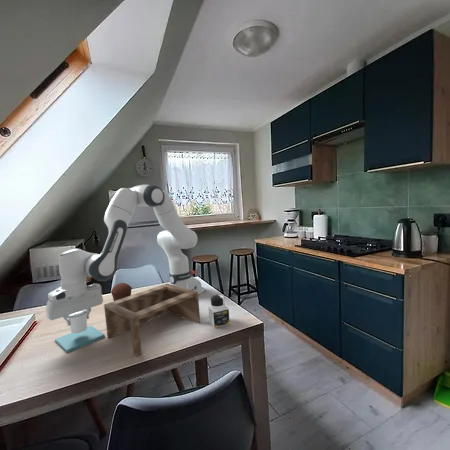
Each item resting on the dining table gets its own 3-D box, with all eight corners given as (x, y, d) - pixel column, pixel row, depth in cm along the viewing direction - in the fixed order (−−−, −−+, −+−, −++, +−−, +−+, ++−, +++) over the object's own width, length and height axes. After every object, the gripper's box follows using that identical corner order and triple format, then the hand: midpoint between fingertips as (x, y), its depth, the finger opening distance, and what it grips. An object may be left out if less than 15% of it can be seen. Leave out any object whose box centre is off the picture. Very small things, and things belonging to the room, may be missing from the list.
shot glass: (74, 335, 99) (72, 318, 99) (66, 331, 103) (64, 315, 103) (91, 328, 105) (90, 312, 104) (83, 324, 109) (82, 309, 108)
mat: (91, 327, 114) (90, 325, 114) (104, 336, 105) (104, 334, 105) (55, 341, 104) (55, 339, 104) (66, 352, 95) (66, 350, 95)
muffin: (112, 299, 150) (110, 282, 149) (132, 295, 154) (130, 279, 153) (111, 306, 139) (110, 288, 138) (133, 302, 143) (131, 284, 142)
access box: (168, 310, 128) (166, 283, 127) (200, 322, 113) (197, 291, 111) (107, 337, 105) (104, 304, 103) (136, 356, 89) (132, 318, 88)
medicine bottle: (214, 328, 106) (212, 300, 105) (209, 321, 113) (207, 295, 112) (229, 324, 109) (228, 297, 108) (223, 317, 116) (222, 292, 115)
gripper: (97, 281, 113) (100, 311, 114) (42, 295, 97) (47, 329, 98) (103, 283, 108) (107, 314, 110) (47, 298, 93) (52, 334, 94)
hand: (78, 321), depth 104 cm, fingers closed on shot glass, 5 cm apart
